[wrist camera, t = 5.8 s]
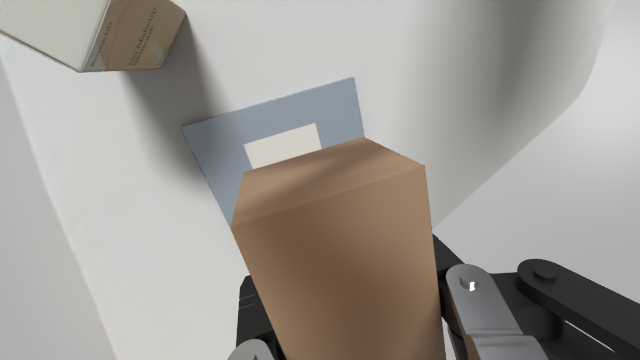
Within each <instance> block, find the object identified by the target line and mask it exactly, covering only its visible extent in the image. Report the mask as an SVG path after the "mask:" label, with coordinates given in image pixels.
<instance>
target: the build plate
mask: <svg viewBox="0 0 640 360" xmlns="http://www.w3.org/2000/svg"><path fill="white" fill-rule="evenodd" d="M181 130H182V132H183V134H184V136H185V138H186V140H187V142H188V144H189V146H190V148H191V150H192V152H193V154H194V156H195V158H196V160H197V162H198V164H199V166H200V168H201V170H202V172H203V174H204V176H205V178H206V180H207V182H208V184H209V186H210V188H211V190H212V192H213V194H214V196H215V198H216V200H217V202H218V204H219V206H220V208H221V210H222V212H223V214H224V216H225V218H226V220H227V222H228V224H229V226H231V222H232V217H233V213H234V209H235V205H236V201H237V197H238V193H239V188H240V184H241V180H242V176H243V172H246V171H250V170H253V169H256V168H260V167H263V166H266V165H270V164H273V163H277V162H280V161H283V160H287V159H290V158H293V157H297V156H300V155H304V154H307V153H310V152H314V151H317V150H320V149H324V148H327V147H331V146H334V145H337V144H341V143H344V142H348V141H351V140H354V139H358V138H361V137H364V131H363V125H362V120H361V114H360V108H359V103H358V97H357V91H356V86H355V80H354V77H350V78H347V79H343V80H340V81H337V82H333V83H330V84H326V85H323V86H319V87H316V88H313V89H309V90H306V91H302V92H299V93H295V94H292V95H288V96H285V97H282V98H278V99H275V100H271V101H268V102H264V103H261V104H258V105H254V106H251V107H247V108H244V109H240V110H237V111H233V112H230V113H227V114H223V115H220V116H216V117H213V118H209V119H206V120H203V121H199V122H196V123H192V124H189V125H185V126H182V127H181Z"/></svg>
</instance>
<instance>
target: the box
mask: <svg viewBox="0 0 640 360" xmlns="http://www.w3.org/2000/svg"><path fill="white" fill-rule="evenodd" d="M185 14H186V12H185V11H184V10H183V9H182V8H180V7H179V6H178V5H176V4H175V3H174V2H172V1H171V0H0V34H1V35H3V36H5V37H7V38H9V39H11V40H13V41H15V42H17V43H19V44H21V45H23V46H25V47H27V48H29V49H31V50H33V51H35V52H37V53H39V54H41V55H43V56H45V57H47V58H49V59H51V60H53V61H55V62H57V63H59V64H62V65H64V66H66V67H68V68H70V69H72V70H74V71H76V72H79V73H83V72H102V71H123V70H142V69H160V68H161V67H162V65H163V63H164V61H165V59H166V56H167V54H168V52H169V50H170V48H171V46H172V43H173V41H174V39H175V37H176V35H177V33H178V30H179V28H180V26H181V24H182V21H183V19H184V17H185Z"/></svg>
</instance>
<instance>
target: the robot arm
mask: <svg viewBox="0 0 640 360" xmlns="http://www.w3.org/2000/svg"><path fill="white" fill-rule="evenodd" d="M432 236H433V245H434V254H435V263H436V272H437V281H438V290H439V299H440V308H441V317H443V318H444V320H445V321H446V322H447V324H448V333H449V337H450V340H451V343H452V346H453V349H454V353H455V356H456V360H640V304H639V303H637V302H634V301H632V300H630V299H628V298H626V297H624V296H622V295H620V294H618V293H616V292H614V291H612V290H610V289H608V288H606V287H604V286H601V285H599V284H597V283H595V282H593V281H591V280H589V279H587V278H585V277H583V276H581V275H579V274H577V273H574V272H572V271H571V270H568V269H566V268H564V267H562V266H560V265H558V264H556V263H553V262H551V261H547V260H542V259H528V260H525V261H523V262H521V263H520V264H519V266H518V269H517V272H515V273H498V274H490V273H487V272H486V271H485V270H483V269H481V268H480V267H477V266H475V265H470V264H465V263H463V262H462V261H461V260H460V259H459V258H458V257H457V256H456V255H455V254H454V253H453V252H452V251H451V250H450V249H449V248H448V247H447V246H446V245H445V244H443V243H442V242H441V241H440V240H439V239H438V238H437V237H436V236H435V235H434V234H432ZM239 299H240V301H239V310H238V325H237V339H236V349H235V350H234V351H233V352H232V353H231V355H230V356H229V358H228V360H287V359H286V357H285V355H284V352H283V350H282V348H281V345H280V343H279V341H278V338H277V336H276V334H275V331H274V329H273V327H272V324H271V322H270V320H269V317H268V315H267V313H266V310H265V308H264V305H263V303H262V301H261V298H260V296H259V294H258V291H257V289H256V287H255V284H254V282H253V280H252V277H251V275H249V276H246V277H245V279H244V281H243V283H242V285H241V287H240V296H239ZM565 321H568V322H569V323H571V324H573V325H574V326H576V327H578V328H579V329H581V330H582V331H584V332H586V333H587V334H589V335H590V336H592V337H594V338H595V339H597V340H599V341H600V342H602V343H603V344H605V345H606V346H608V347H610V348H611V349H612V350H613V351H614V352H613V351H611V350H610V349H608V348H607V347H605V346H603V345H602V344H600V343H599V342H597V341H595V340H594V339H592V338H591V337H589V336H587V335H586V334H584V333H583V332H581V331H579V330H578V329H576V328H574V327H573V326H571V325H570V324H568V323H567V322H565Z"/></svg>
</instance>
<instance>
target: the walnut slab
mask: <svg viewBox="0 0 640 360" xmlns="http://www.w3.org/2000/svg"><path fill="white" fill-rule="evenodd" d="M230 228H231V230H232V233H233V235H234V237H235V240H236V242H237V245H238V247H239V249H240V252H241V254H242V256H243V259H244V261H245V263H246V266H247V268H248V270H249V273H250V275H251V277H252V280H253V282H254V284H255V287H256V289H257V291H258V294H259V296H260V298H261V301H262V303H263V305H264V308H265V310H266V313H267V315H268V317H269V320H270V322H271V324H272V327H273V329H274V331H275V334H276V336H277V338H278V341H279V343H280V345H281V348H282V350H283V352H284V355H285V357H286V359H287V360H446V353H445V345H444V335H443V327H442V319H441V318H442V317H441V308H440V299H439V290H438V281H437V272H436V263H435V254H434V245H433V236H432V227H431V218H430V209H429V200H428V191H427V182H426V173H425V166H424V165H422V164H420V163H418V162H416V161H413V160H411V159H409V158H407V157H405V156H403V155H401V154H399V153H396V152H394V151H392V150H390V149H388V148H386V147H384V146H382V145H379V144H377V143H375V142H373V141H371V140H369V139H367V138H365V137H361V138H358V139H354V140H351V141H348V142H344V143H341V144H337V145H334V146H331V147H327V148H324V149H320V150H317V151H314V152H310V153H307V154H304V155H300V156H297V157H293V158H290V159H287V160H283V161H280V162H277V163H273V164H270V165H266V166H263V167H260V168H256V169H253V170H250V171H246V172H243V176H242V180H241V184H240V188H239V193H238V197H237V201H236V205H235V209H234V213H233V217H232V222H231V226H230Z"/></svg>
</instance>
